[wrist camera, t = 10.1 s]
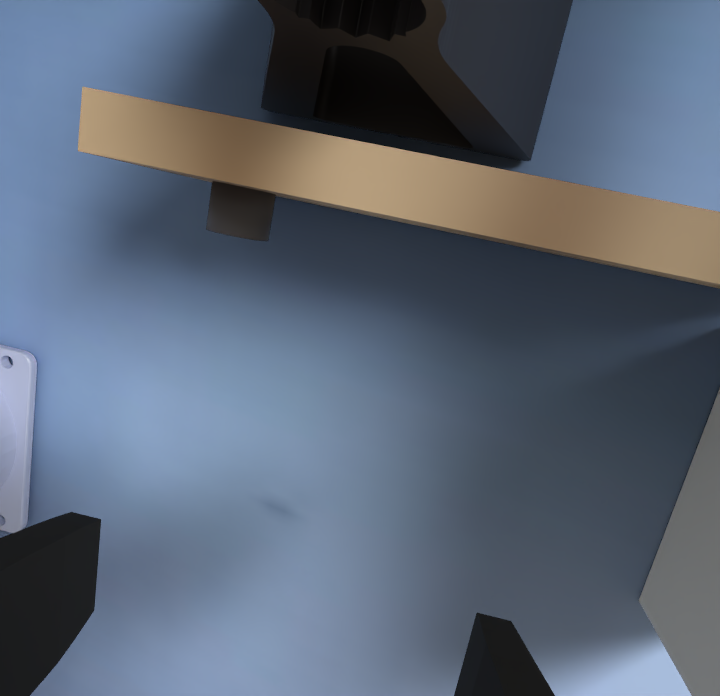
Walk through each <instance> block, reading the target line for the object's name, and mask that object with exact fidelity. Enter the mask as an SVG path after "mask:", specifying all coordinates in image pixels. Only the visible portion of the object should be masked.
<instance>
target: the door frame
mask: <svg viewBox="0 0 720 696" xmlns="http://www.w3.org/2000/svg"><path fill="white" fill-rule="evenodd" d="M639 602H640V604H641V606H642V608H643V610H644V611H645V613H646V615H647V617H648V618H649V620H650V622H651V624H652V626H653V627H654V629H655V631H656V633H657V634H658V636H659V638H660V640H661V642H662V643H663V645H664V647H665V649H666V650H667V652H668V654H669V656H670V658H671V659H672V661H673V663H674V665H675V666H676V668H677V670H678V672H679V674H680V675H681V677H682V679H683V681H684V682H685V684H686V686H687V688H688V690H689V691H690V693H691V695H692V696H720V389H719V392H718V394H717V397H716V400H715V402H714V405H713V408H712V410H711V413H710V415H709V418H708V421H707V423H706V426H705V428H704V431H703V434H702V436H701V439H700V442H699V444H698V447H697V449H696V452H695V455H694V457H693V460H692V462H691V465H690V468H689V470H688V473H687V476H686V478H685V481H684V483H683V486H682V489H681V491H680V494H679V496H678V499H677V502H676V504H675V507H674V510H673V512H672V515H671V517H670V520H669V523H668V525H667V528H666V531H665V533H664V536H663V538H662V541H661V544H660V546H659V549H658V551H657V554H656V557H655V559H654V562H653V565H652V567H651V570H650V572H649V575H648V578H647V580H646V583H645V585H644V588H643V591H642V593H641V596H640V599H639Z"/></svg>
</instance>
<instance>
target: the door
mask: <svg viewBox="0 0 720 696" xmlns="http://www.w3.org/2000/svg"><path fill="white" fill-rule="evenodd" d="M78 151H80V152H85V153H89V154H93V155H97V156H102V157H106V158H110V159H115V160H119V161H123V162H127V163H132V164H136V165H140V166H144V167H149V168H153V169H157V170H161V171H166V172H170V173H174V174H179V175H183V176H187V177H191V178H196V179H200V180H204V181H208V182H212V188H211V196H210V203H209V211H208V218H207V226H206V229H207V230H210V231H213V232H217V233H221V234H225V235H230V236H235V237H240V238H246V239H252V240H259V241H268V240H269V234H270V228H271V221H272V215H273V209H274V203H275V196H278V197H283V198H287V199H292V200H297V201H302V202H307V203H311V204H316V205H321V206H326V207H331V208H335V209H340V210H345V211H350V212H355V213H359V214H364V215H369V216H374V217H379V218H383V219H388V220H393V221H398V222H403V223H407V224H412V225H417V226H422V227H427V228H431V229H436V230H441V231H446V232H451V233H455V234H460V235H465V236H470V237H475V238H479V239H484V240H489V241H494V242H499V243H503V244H508V245H513V246H518V247H523V248H527V249H532V250H537V251H542V252H547V253H551V254H556V255H561V256H566V257H571V258H575V259H580V260H585V261H590V262H595V263H599V264H604V265H609V266H614V267H619V268H623V269H628V270H633V271H638V272H643V273H647V274H652V275H657V276H662V277H666V278H671V279H676V280H681V281H686V282H690V283H695V284H700V285H705V286H710V287H714V288H719V289H720V212H717V211H712V210H707V209H702V208H697V207H692V206H687V205H682V204H677V203H672V202H667V201H662V200H656V199H651V198H646V197H641V196H636V195H631V194H626V193H621V192H616V191H611V190H606V189H600V188H595V187H590V186H585V185H580V184H575V183H570V182H565V181H560V180H555V179H550V178H545V177H539V176H534V175H529V174H524V173H519V172H514V171H509V170H504V169H499V168H494V167H489V166H483V165H478V164H473V163H468V162H463V161H458V160H453V159H448V158H443V157H438V156H433V155H428V154H422V153H417V152H412V151H407V150H402V149H397V148H392V147H387V146H382V145H377V144H372V143H366V142H361V141H356V140H351V139H346V138H341V137H336V136H331V135H326V134H321V133H316V132H310V131H305V130H300V129H295V128H290V127H285V126H280V125H275V124H270V123H265V122H260V121H255V120H249V119H244V118H239V117H234V116H229V115H224V114H219V113H214V112H209V111H204V110H199V109H193V108H188V107H183V106H178V105H173V104H168V103H163V102H158V101H153V100H148V99H143V98H138V97H132V96H127V95H122V94H117V93H112V92H107V91H102V90H97V89H92V88H87V87H82V100H81V114H80V128H79V141H78Z"/></svg>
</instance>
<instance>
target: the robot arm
mask: <svg viewBox="0 0 720 696" xmlns="http://www.w3.org/2000/svg"><path fill="white" fill-rule="evenodd" d="M9 357H11V359H12V360H13V365H11V363H10V362H9ZM36 375H37V361H36V359H35V357H34V356H33V355H32V354H31V353H30V352H28V351H25V350H21V349H17V348H12V347H8V346H4V345H0V530H2V531H6V532H10V533H12V534H10V535H7V536H5V537H2V538H0V696H30V695H31V694H32V692H33V691H34V690H35V689H36V688H37V687H38V685H39V684H40V683H41V682H42V681H43V680H44V678H45V677H46V676H47V675H48V674H49V673H50V671H51V670H52V669H53V668H54V667H55V666H56V664H57V663H58V662H59V661H60V659H61V658H62V656H63V655H64V654H65V652H66V651H67V649H68V648H69V647H70V645H71V644H72V642H73V641H74V640H75V638H76V637H77V635H78V634H79V632H80V631H81V629H82V628H83V626H84V625H85V623H86V622H87V620H88V619H89V617H90V616H91V614H92V613H93V611H94V606H95V593H96V579H97V566H98V553H99V540H100V526H101V519H98V518H94V517H90V516H85V515H81V514H77V513H73V512H70V513H67V514H64V515H61V516H58V517H55V518H52V519H49V520H46V521H44V522H41V523H38V524H36V525H33V526H30V527H28V528H25V529H23V528H24V527H25V526H26V525H27V522H28V506H29V490H30V474H31V457H32V441H33V425H34V408H35V392H36ZM2 516H3V517H4V518H5V520H4V519H3V518H2ZM22 529H23V530H22ZM454 696H555V695H554V693H553V692H552V690H551V688H550V687H549V685H548V683H547V682H546V680H545V678H544V676H543V675H542V673H541V671H540V670H539V668H538V666H537V665H536V663H535V661H534V659H533V658H532V656H531V654H530V653H529V651H528V649H527V647H526V646H525V644H524V642H523V640H522V639H521V637H520V635H519V634H518V632H517V630H516V629H515V627H514V625H513V624H512V622H511V621H508V620H504V619H500V618H496V617H492V616H488V615H484V614H480V613H477V614H476V618H475V621H474V625H473V629H472V632H471V636H470V640H469V643H468V647H467V651H466V654H465V658H464V662H463V665H462V669H461V673H460V676H459V680H458V684H457V687H456V691H455V695H454Z"/></svg>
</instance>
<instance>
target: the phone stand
mask: <svg viewBox="0 0 720 696" xmlns="http://www.w3.org/2000/svg"><path fill="white" fill-rule="evenodd" d="M258 1H259V2H260V3H261V4H262V6H263V7H264V8H265V9H266V11H267V12H268V13H269V15H270V17H271V19H272V21H273V27H272V34H271V41H270V47H269V54H268V61H267V68H266V74H265V81H264V88H263V95H262V102H261V108H262V109H264V110H267V111H271V112H275V113H280V114H285V115H290V116H295V117H301V118H306V119H311V120H316V121H321V122H326V123H331V124H337V125H342V126H347V127H352V128H357V129H362V130H367V131H373V132H378V133H383V134H393V135H397V136H399V137H403V138H409V139H414V140H419V141H424V142H429V143H434V144H439V145H445V146H450V147H455V148H460V149H465V150H470V151H475V152H481V153H486V154H491V155H496V156H501V157H506V158H511V159H517V160H523V161H530V160H531V157H532V153H533V149H534V145H535V142H536V138H537V134H538V130H539V126H540V123H541V119H542V115H543V111H544V108H545V104H546V100H547V96H548V92H549V89H550V85H551V81H552V77H553V74H554V70H555V66H556V62H557V58H558V55H559V51H560V47H561V43H562V40H563V36H564V32H565V28H566V24H567V21H568V17H569V13H570V9H571V6H572V2H573V0H258Z"/></svg>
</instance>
